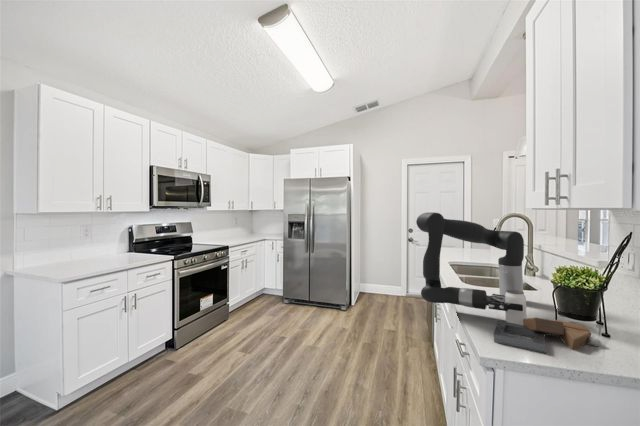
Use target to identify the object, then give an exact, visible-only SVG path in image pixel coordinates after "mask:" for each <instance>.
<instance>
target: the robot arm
mask: <svg viewBox="0 0 640 426" xmlns="http://www.w3.org/2000/svg"><path fill="white" fill-rule="evenodd" d="M416 226H417V228H418V229H419V230H420V231H422V232H424V233H428V243H427V247H426V250H425V253H424V255H423V258H422V259H423V260H422V276H423V278H424V279H425V285H424V286H423V287H422V288H421V291H420V295H421V297H422V299H424V300H425V301H426V302H429V303H431V304H432V303H435V304H453V305H456V306H457V305H459V306H462V307H466V308H472V309H478V310H487V307H488V309H489V310H493V311H494V310H497V311H503V312H505V311H508V310H510V309H511V310H517V311H523V305H521V304H513V303H508V302H505V293H506V290H518V291H522V292H524V282H523V281H524V280H523V260H524V257H525V256H524V255H525V253H524V251H525V241H524V237H523V235H522V233H520V232H518V231H510V230H509V231H508V230H495V229H494V230H493V229H488V228H486V227H485V226H483V225H481V224H480V223H475V222H472V221H467V220H460V219H447V218H444V216H443V214H441V213H440V212H424V213H421V214H419V215H418V217H416ZM444 235H445V236H447V237H450V238H454V239H457V240H460V241H464V242H468V243H474V244H484V245H487V246H490V247H493V248H496V249H499V250H502V251H506V252H505V255H504V256H502V257H499V258H498V283H499V286H498V287H499V288H498V289H499V294H496V293H492V294H491V295H487V291H486V290H483V289H477V288H475V289H474V288H469V287H467V288H466V287H455V286H454V287H453V286H447V287H442V281H441V278H440V277H441V276H440V275H441V274H440V273H441V271H440V269H441V251H442V250H441V249H442V245H443V244H442V243H443V238H444Z"/></svg>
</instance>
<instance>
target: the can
mask: <svg viewBox="0 0 640 426" xmlns="http://www.w3.org/2000/svg"><path fill="white" fill-rule="evenodd" d="M505 302H508V303H513V304H521V305H523V311H517V310H511V309H510V310H508V311H504V312H505V313H504V314H505V322H508V323H514V324H519V325H524V324H523V319H528V318H527V316H528V315H527V298H526V294H525V292H524V291H523V292H522V291H518V290H506V293H505Z"/></svg>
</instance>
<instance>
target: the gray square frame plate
mask: <svg viewBox="0 0 640 426" xmlns="http://www.w3.org/2000/svg"><path fill="white" fill-rule="evenodd" d="M545 335H546V334H544V332H538V331H531V330H530V329H529V328H528V327H526V326H525V325H519V324H514V323H508V322H506V321H501V320H498V321H497V323H496V326H495V329H494V333H493V342H494V343H496V342H497V343H498V344H502V345H506V346H510V347H516V348H520V349H524V350H530V351H533V352H538V353H542V354H547V352H546V349H547V348H546V345H547V344H546V337H545ZM497 343H496V344H497Z"/></svg>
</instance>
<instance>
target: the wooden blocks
mask: <svg viewBox="0 0 640 426" xmlns="http://www.w3.org/2000/svg"><path fill="white" fill-rule="evenodd" d="M523 324H524V325H525V326H526V327H528V328H529V329H530V330H531V331H538V332H544V335H547V336H558V337H559V338H560V339H561V340H562V342H564V344H565V345H566V347H568V348H569V349H570V350H572V351H575V350H576V349H579V348H581V347H583V346H584V345H587V344H588V345H590V346H595V347H600V346H601V341H600V340H601V339H599V338H597V337H594V336H593V337H592V332H591V331H590V330H589V328H588V327H586V326H585V325H584V324H579V323H573V322H570V321H565V320H559V319H549V318H548V319H547V318H542V317H541V318H540V317H528V318H527V319H523Z"/></svg>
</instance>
